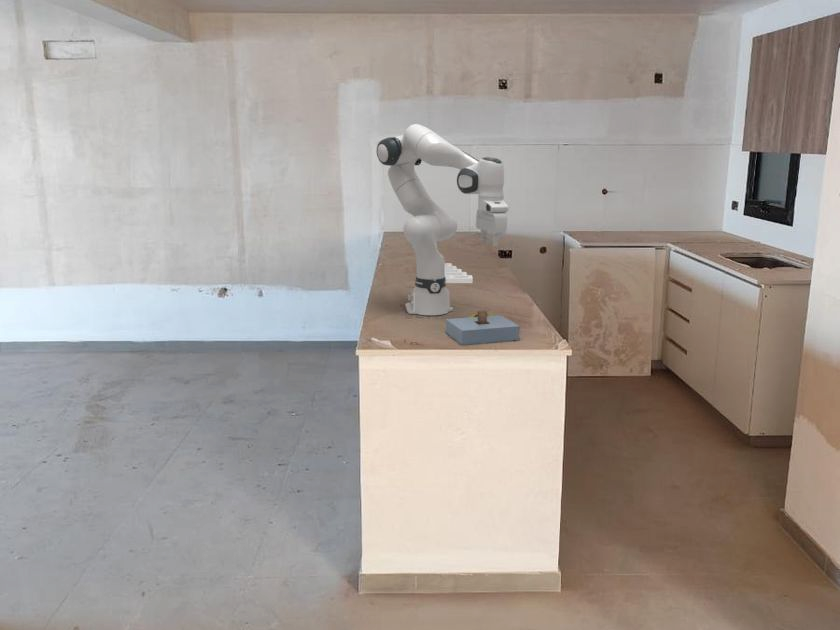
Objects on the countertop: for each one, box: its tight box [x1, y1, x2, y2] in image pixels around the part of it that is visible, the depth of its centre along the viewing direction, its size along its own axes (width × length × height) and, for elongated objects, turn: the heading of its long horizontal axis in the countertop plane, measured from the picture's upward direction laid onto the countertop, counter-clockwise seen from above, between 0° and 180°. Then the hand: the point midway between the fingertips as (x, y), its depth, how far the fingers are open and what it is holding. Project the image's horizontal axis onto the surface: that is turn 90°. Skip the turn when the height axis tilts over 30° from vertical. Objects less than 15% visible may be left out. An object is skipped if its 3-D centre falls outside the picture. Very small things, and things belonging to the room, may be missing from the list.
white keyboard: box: [445, 262, 474, 284], centre depth 376 cm, size 45×18×3 cm, turn 179°
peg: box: [477, 309, 488, 325], centre depth 258 cm, size 3×3×9 cm
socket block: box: [445, 314, 521, 346], centre depth 258 cm, size 17×21×5 cm
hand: (490, 244), depth 261 cm, fingers open, 8 cm apart
